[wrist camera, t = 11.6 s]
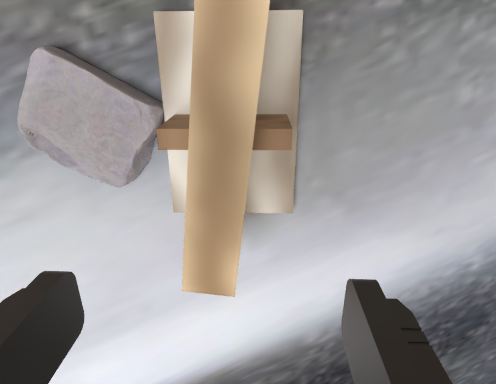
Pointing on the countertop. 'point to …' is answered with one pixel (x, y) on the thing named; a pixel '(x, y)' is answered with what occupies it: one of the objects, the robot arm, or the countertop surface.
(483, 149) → the countertop surface
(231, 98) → the oak batten
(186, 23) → the stand
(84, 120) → the stone block
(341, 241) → the countertop surface
